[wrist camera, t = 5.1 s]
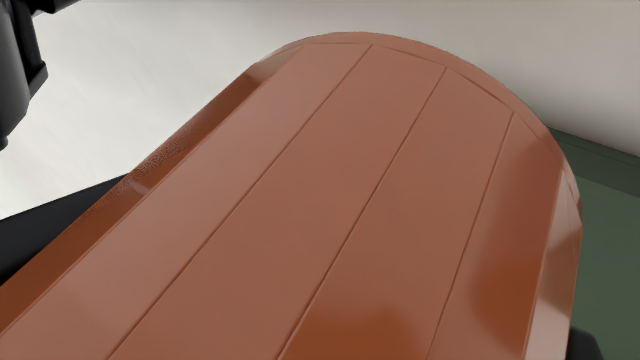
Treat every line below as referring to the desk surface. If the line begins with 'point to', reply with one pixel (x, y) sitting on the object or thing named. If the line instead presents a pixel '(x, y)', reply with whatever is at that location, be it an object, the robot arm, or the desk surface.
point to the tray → (607, 245)
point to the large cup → (322, 224)
